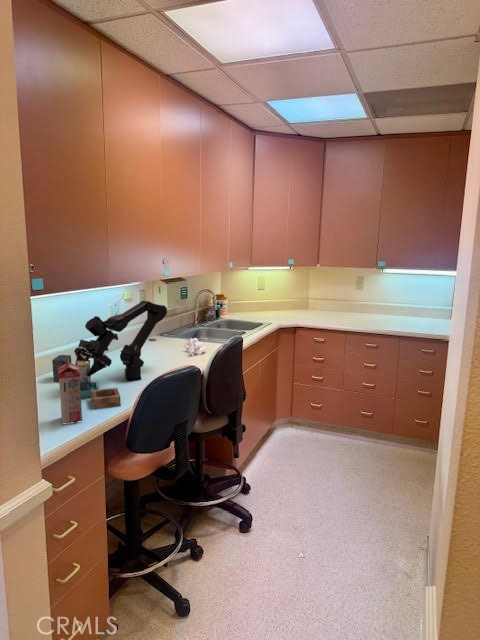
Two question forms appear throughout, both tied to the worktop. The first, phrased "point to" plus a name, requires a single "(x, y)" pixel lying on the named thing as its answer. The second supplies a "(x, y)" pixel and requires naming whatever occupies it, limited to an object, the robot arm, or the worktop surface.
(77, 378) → the juice carton
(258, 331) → the worktop surface
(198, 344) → the white coral
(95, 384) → the teal tray
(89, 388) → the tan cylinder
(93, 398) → the brown square frame
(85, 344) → the robot arm
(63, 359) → the box
